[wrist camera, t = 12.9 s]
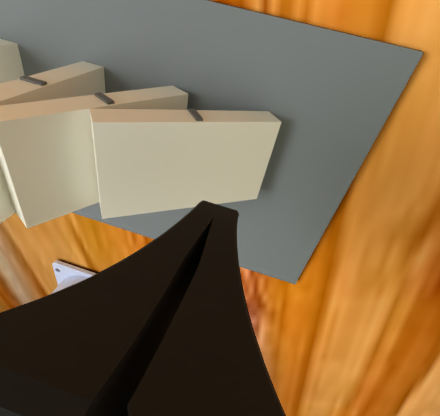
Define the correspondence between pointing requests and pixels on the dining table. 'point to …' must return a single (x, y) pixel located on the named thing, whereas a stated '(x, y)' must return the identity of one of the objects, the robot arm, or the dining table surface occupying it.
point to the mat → (235, 99)
